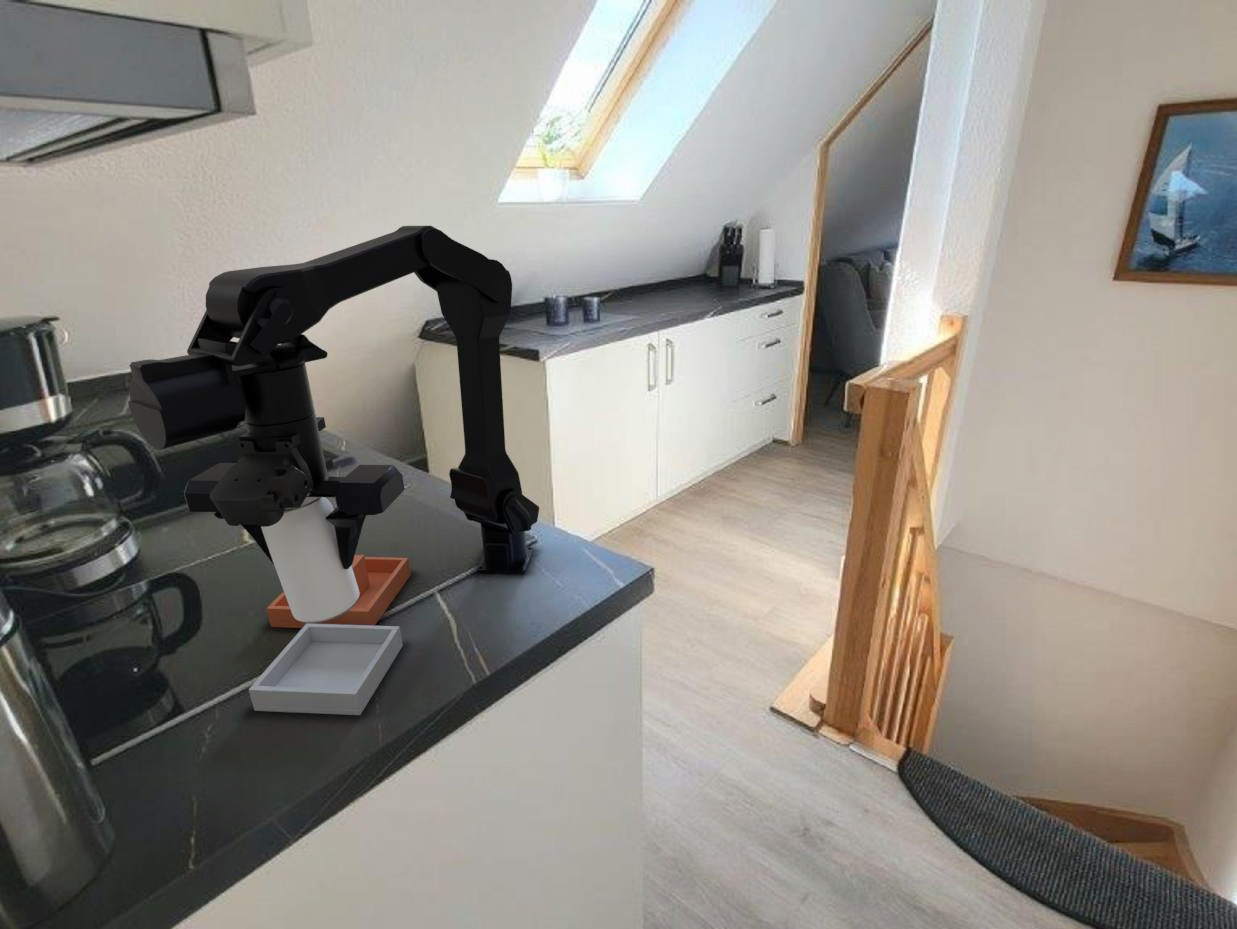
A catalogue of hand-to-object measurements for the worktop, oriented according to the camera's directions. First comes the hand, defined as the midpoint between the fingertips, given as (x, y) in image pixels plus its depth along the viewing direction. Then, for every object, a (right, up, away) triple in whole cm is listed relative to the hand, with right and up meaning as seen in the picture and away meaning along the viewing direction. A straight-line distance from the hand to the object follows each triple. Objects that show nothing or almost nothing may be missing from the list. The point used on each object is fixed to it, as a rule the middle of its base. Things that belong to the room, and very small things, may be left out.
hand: (314, 566), depth 64 cm
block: (-4, -6, +16) cm, 18 cm away
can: (+1, -5, +2) cm, 5 cm away
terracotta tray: (-4, -7, +17) cm, 18 cm away
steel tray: (0, -12, +3) cm, 12 cm away
